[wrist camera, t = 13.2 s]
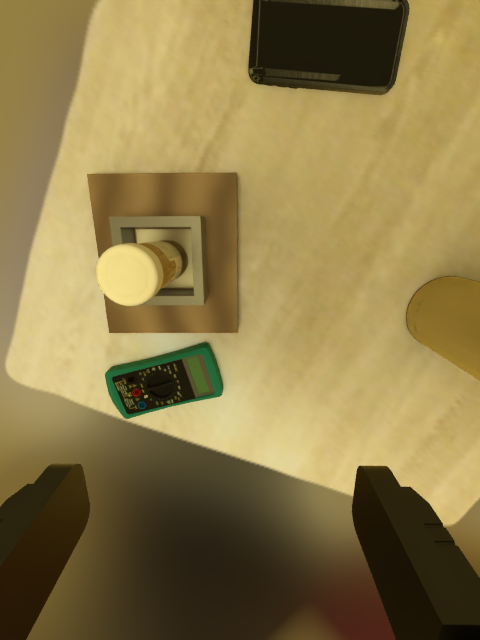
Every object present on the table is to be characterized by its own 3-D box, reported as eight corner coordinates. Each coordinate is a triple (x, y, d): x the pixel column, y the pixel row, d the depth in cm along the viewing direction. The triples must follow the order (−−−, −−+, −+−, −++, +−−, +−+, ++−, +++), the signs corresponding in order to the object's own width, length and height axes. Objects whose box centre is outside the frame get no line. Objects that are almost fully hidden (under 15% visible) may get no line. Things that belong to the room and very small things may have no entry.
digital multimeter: (107, 366, 41) (97, 376, 39) (210, 339, 40) (207, 347, 37) (127, 410, 43) (119, 423, 41) (225, 386, 42) (224, 398, 39)
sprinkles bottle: (172, 287, 35) (131, 319, 22) (141, 260, 34) (80, 279, 22) (197, 257, 34) (170, 274, 21) (165, 229, 33) (117, 229, 21)
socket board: (236, 175, 34) (236, 172, 32) (238, 327, 39) (237, 333, 37) (95, 177, 34) (86, 173, 32) (115, 327, 39) (108, 333, 37)
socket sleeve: (205, 217, 33) (200, 216, 29) (208, 297, 36) (204, 305, 32) (124, 218, 33) (109, 216, 30) (133, 297, 36) (120, 305, 32)
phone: (254, -18, 28) (412, -4, 28) (254, -9, 29) (406, 5, 30) (247, 80, 31) (393, 94, 31) (247, 85, 32) (388, 98, 32)
